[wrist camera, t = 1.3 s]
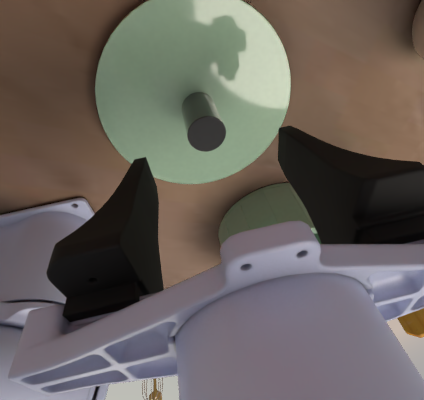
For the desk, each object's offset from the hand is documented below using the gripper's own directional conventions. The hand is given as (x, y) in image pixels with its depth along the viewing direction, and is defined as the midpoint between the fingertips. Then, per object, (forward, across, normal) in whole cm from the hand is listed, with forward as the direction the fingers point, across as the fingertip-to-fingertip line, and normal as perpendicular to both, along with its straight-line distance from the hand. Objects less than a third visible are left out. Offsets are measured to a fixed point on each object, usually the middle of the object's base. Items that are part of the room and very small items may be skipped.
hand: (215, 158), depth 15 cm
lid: (+7, 0, 0) cm, 7 cm away
